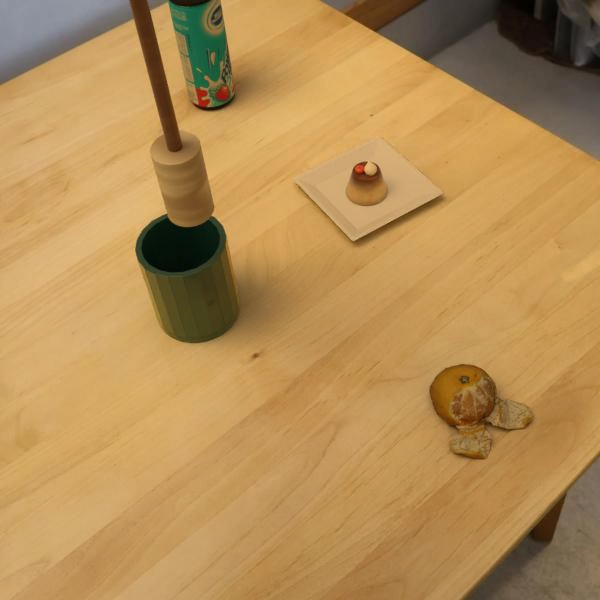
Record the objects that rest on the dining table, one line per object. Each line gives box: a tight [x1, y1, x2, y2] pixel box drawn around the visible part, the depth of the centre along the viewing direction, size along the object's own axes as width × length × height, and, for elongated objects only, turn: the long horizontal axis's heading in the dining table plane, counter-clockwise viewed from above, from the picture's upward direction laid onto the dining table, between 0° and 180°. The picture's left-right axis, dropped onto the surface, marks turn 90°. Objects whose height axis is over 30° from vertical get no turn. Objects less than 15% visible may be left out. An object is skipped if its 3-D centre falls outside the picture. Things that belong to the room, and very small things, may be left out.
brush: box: [128, 0, 215, 227], centre depth 61 cm, size 4×4×28 cm
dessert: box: [292, 135, 444, 242], centre depth 93 cm, size 12×12×5 cm
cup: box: [134, 213, 241, 344], centre depth 82 cm, size 8×8×10 cm
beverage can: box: [167, 0, 236, 110], centre depth 102 cm, size 6×6×15 cm
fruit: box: [428, 363, 533, 460], centre depth 75 cm, size 8×8×4 cm
